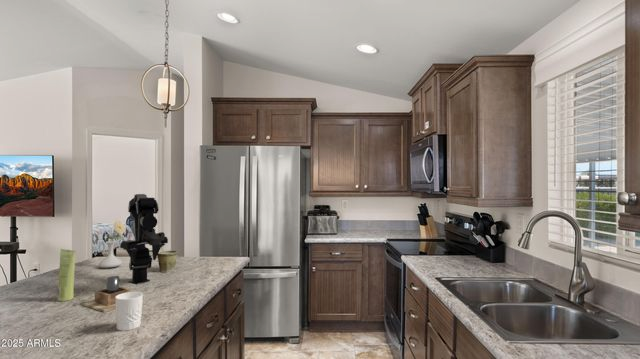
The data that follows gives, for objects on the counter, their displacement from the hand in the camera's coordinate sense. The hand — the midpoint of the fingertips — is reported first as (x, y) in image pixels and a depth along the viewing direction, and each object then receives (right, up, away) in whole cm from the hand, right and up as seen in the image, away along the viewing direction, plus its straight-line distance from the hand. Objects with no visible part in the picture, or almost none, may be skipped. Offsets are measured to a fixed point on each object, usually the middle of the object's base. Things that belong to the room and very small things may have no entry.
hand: (144, 261), depth 149 cm
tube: (-23, -11, -15) cm, 30 cm away
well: (-3, -11, -18) cm, 22 cm away
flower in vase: (-38, -12, +38) cm, 55 cm away
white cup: (+15, -12, -39) cm, 43 cm away
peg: (-3, -11, -18) cm, 21 cm away
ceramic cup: (-4, -13, +33) cm, 35 cm away
